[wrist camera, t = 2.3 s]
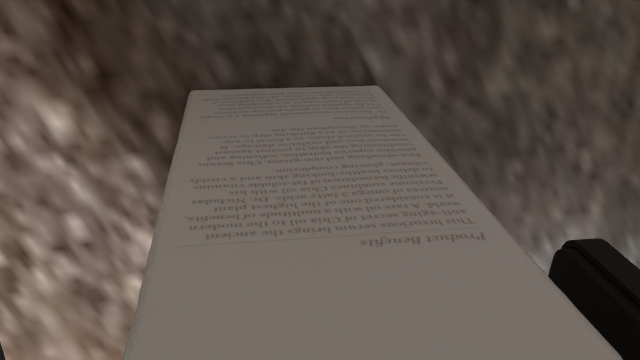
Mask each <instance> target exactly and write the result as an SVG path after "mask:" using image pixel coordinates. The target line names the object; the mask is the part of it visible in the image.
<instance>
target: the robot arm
mask: <svg viewBox="0 0 640 360" xmlns="http://www.w3.org/2000/svg"><path fill="white" fill-rule="evenodd" d="M548 277H549V278H550V279H551V280H552V282H553V283H554V284H555V285H556V286H557V287H558V288H559V289H560V290H561V291H562V292H563V293H564V294H565V295H566V297H567V298H568V299H569V300H570V301H571V302H572V304H573V305H574V306H575V307H576V308H577V309H578V310H579V311H580V313H581V314H582V315H583V316H584V317H585V318H586V319H587V320H588V321H589V322H590V323H591V324H592V325H593V326H594V328H595V329H596V330H597V331H598V332H599V333H600V334H601V335H602V336H603V337H604V338H605V340H606V341H607V342H608V343H609V344H610V345H611V346H612V347H613V348H614V349H615V350H616V351H617V353H618V354H619V355H620V356H621V358H622V359H623V360H640V269H638V268H637V267H636V266H635V265H634V264H633V263H631V262H630V261H629V260H628V259H627V258H625V257H624V256H623V255H622V254H621V253H620V252H618V251H617V250H616V249H615V248H614V247H612V246H611V245H610V244H609V243H608V242H606V241H605V240H603V239H598V238H596V239H582V240H570V241H567V242H565V244H564V245H563V246H562V248H561V249H560V250H557V252H556V253H555V255H554V257H553V260H552V264H551V268H550V272H549V275H548ZM0 360H5V356H4V353H3V350H2V347H1V343H0Z"/></svg>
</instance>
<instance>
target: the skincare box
mask: <svg viewBox="0 0 640 360" xmlns="http://www.w3.org/2000/svg"><path fill="white" fill-rule="evenodd" d="M123 360H623V359H622V358H621V356H620V355H619V354H618V353H617V351H616V350H615V349H614V348H613V347H612V346H611V345H610V344H609V343H608V342H607V341H606V340H605V338H604V337H603V336H602V335H601V334H600V333H599V332H598V331H597V330H596V329H595V328H594V326H593V325H592V324H591V323H590V322H589V321H588V320H587V319H586V318H585V317H584V316H583V315H582V314H581V313H580V311H579V310H578V309H577V308H576V307H575V306H574V305H573V304H572V302H571V301H570V300H569V299H568V298H567V297H566V295H565V294H564V293H563V292H562V291H561V290H560V289H559V288H558V287H557V286H556V285H555V284H554V283H553V282H552V280H551V279H550V278H549V277H548V275H547V274H546V273H545V272H544V271H543V270H542V269H541V268H540V267H539V266H538V265H537V264H536V262H535V261H534V260H533V259H532V258H531V257H530V256H529V255H528V253H527V252H526V251H525V250H524V249H523V248H522V247H521V246H520V245H519V243H518V242H517V241H516V240H515V239H514V238H513V237H512V236H511V234H510V233H509V232H508V231H507V230H506V229H505V228H504V227H503V225H502V224H501V223H500V222H499V221H498V220H497V219H496V218H495V216H494V215H493V214H492V213H491V212H490V211H489V210H488V209H487V207H486V206H485V205H484V204H483V203H482V202H481V201H480V200H479V199H478V198H477V196H476V195H475V194H474V193H473V192H472V190H471V189H470V188H469V187H468V186H467V185H466V183H465V182H464V181H463V180H462V179H461V178H460V177H459V176H458V174H457V173H456V172H455V171H454V170H453V169H452V168H451V167H450V166H449V164H448V163H447V162H446V161H445V160H444V159H443V158H442V157H441V155H440V154H439V153H438V152H437V151H436V150H435V149H434V147H433V146H432V145H431V144H430V143H429V142H428V141H427V139H426V138H425V137H424V136H423V135H422V134H421V133H420V132H419V130H418V129H417V128H416V127H415V126H414V125H413V124H412V122H411V121H410V120H409V119H408V118H407V117H406V116H405V114H404V113H403V112H402V111H401V110H400V109H399V108H398V107H397V106H396V104H395V103H394V102H393V101H392V100H391V99H390V98H389V96H388V95H387V94H386V93H385V92H384V91H383V90H382V89H381V88H380V87H379V86H376V85H375V86H344V87H304V88H267V89H233V90H194V91H191V92H190V94H189V96H188V100H187V104H186V108H185V112H184V117H183V120H182V124H181V128H180V133H179V137H178V142H177V145H176V148H175V152H174V156H173V159H172V163H171V167H170V171H169V175H168V179H167V183H166V187H165V192H164V196H163V200H162V204H161V207H160V212H159V216H158V220H157V224H156V228H155V232H154V236H153V240H152V244H151V248H150V251H149V256H148V260H147V265H146V269H145V274H144V278H143V283H142V286H141V289H140V294H139V300H138V305H137V309H136V313H135V316H134V320H133V324H132V327H131V330H130V333H129V337H128V341H127V345H126V348H125V352H124V356H123Z"/></svg>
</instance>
